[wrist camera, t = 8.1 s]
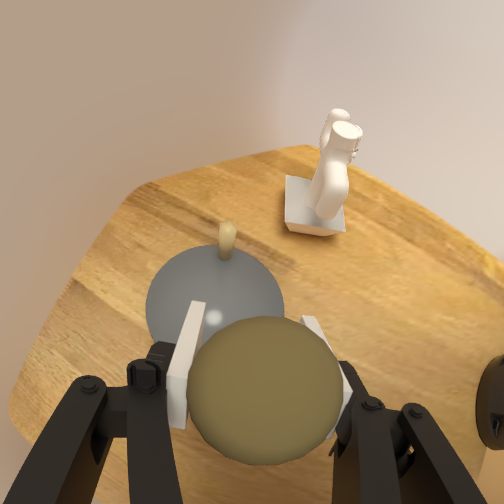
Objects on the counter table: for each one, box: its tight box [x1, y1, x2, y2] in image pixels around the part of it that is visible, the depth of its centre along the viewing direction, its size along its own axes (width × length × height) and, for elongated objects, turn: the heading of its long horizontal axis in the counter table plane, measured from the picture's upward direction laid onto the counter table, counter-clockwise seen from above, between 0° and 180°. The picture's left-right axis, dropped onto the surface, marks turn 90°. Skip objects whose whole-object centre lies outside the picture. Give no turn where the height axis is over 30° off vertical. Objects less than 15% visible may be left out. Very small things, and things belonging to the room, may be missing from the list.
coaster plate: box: [146, 221, 284, 347], centre depth 28 cm, size 14×14×6 cm
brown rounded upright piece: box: [186, 315, 343, 465], centre depth 13 cm, size 6×6×11 cm
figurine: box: [284, 108, 363, 236], centre depth 32 cm, size 7×9×15 cm
